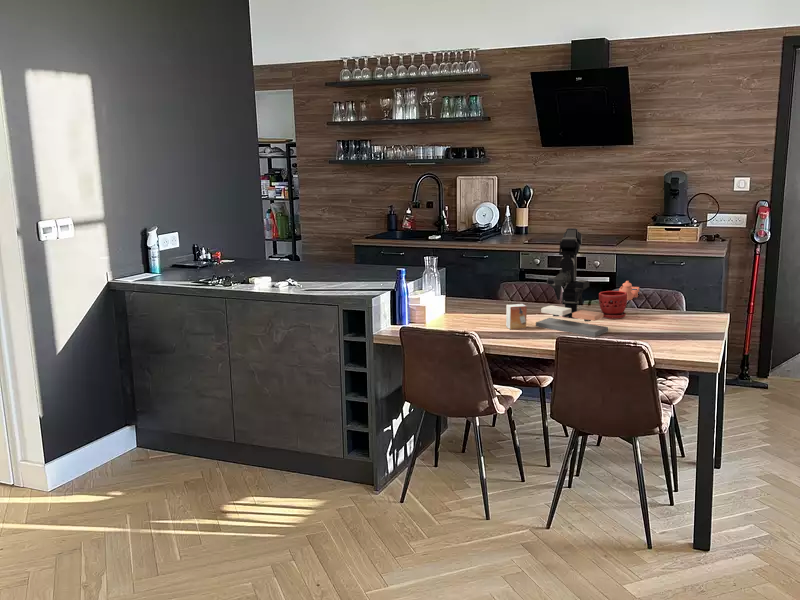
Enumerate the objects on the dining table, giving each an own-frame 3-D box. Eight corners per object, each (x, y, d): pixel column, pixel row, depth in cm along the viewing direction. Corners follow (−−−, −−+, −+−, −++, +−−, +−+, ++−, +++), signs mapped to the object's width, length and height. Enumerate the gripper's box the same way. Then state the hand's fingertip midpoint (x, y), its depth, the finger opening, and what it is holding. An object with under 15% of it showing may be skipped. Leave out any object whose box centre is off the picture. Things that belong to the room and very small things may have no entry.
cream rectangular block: (550, 312, 367) (550, 305, 367) (571, 315, 360) (571, 308, 359) (541, 315, 362) (541, 308, 361) (562, 319, 354) (562, 311, 354)
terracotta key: (581, 317, 357) (581, 309, 356) (603, 320, 350) (603, 313, 349) (572, 320, 351) (572, 312, 350) (594, 324, 344) (594, 316, 343)
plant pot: (622, 313, 385) (623, 289, 382) (629, 320, 372) (630, 295, 369) (595, 314, 385) (596, 290, 383) (601, 320, 372) (602, 295, 370)
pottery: (621, 293, 435) (621, 276, 433) (639, 294, 431) (639, 276, 429) (616, 299, 418) (617, 281, 416) (634, 301, 415) (635, 282, 413)
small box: (509, 329, 358) (510, 306, 355) (505, 326, 363) (506, 304, 361) (526, 328, 359) (527, 305, 357) (522, 325, 364) (522, 303, 362)
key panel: (549, 321, 371) (549, 317, 370) (608, 331, 351) (608, 327, 351) (535, 326, 362) (535, 322, 362) (594, 336, 342) (595, 332, 342)
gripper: (540, 267, 350) (539, 301, 353) (576, 271, 337) (575, 307, 340) (554, 264, 358) (553, 297, 361) (590, 268, 345) (589, 303, 348)
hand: (567, 301), depth 352 cm, fingers open, 9 cm apart
